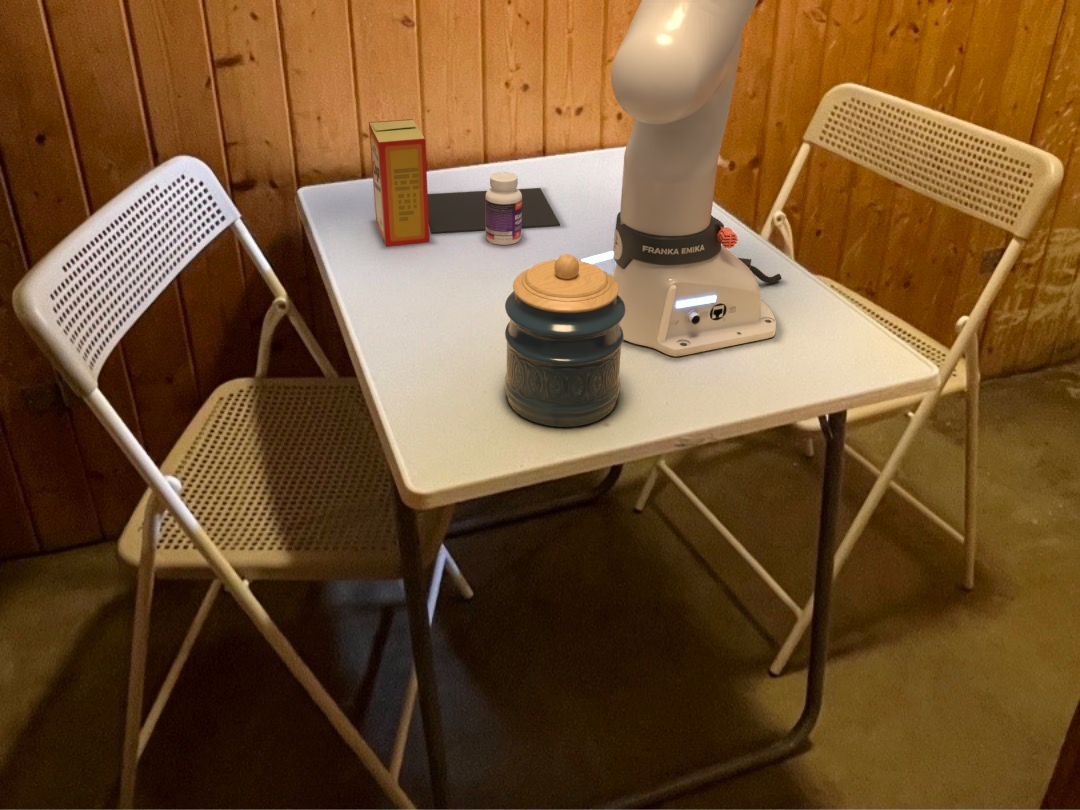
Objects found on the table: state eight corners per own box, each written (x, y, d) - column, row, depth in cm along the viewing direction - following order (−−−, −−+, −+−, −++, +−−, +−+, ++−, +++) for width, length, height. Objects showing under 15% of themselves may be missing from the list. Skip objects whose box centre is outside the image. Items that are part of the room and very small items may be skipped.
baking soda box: (429, 242, 151) (425, 136, 142) (386, 246, 149) (378, 140, 140) (417, 218, 158) (412, 116, 150) (375, 222, 157) (368, 119, 148)
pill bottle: (522, 245, 150) (523, 183, 145) (486, 246, 150) (485, 183, 145) (520, 231, 155) (521, 170, 149) (485, 231, 154) (484, 170, 149)
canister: (530, 440, 108) (533, 291, 98) (488, 380, 118) (487, 240, 108) (638, 415, 112) (651, 271, 103) (589, 360, 122) (596, 224, 113)
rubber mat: (540, 189, 170) (540, 187, 169) (560, 226, 157) (560, 224, 157) (421, 196, 166) (420, 194, 166) (431, 233, 153) (431, 232, 153)
